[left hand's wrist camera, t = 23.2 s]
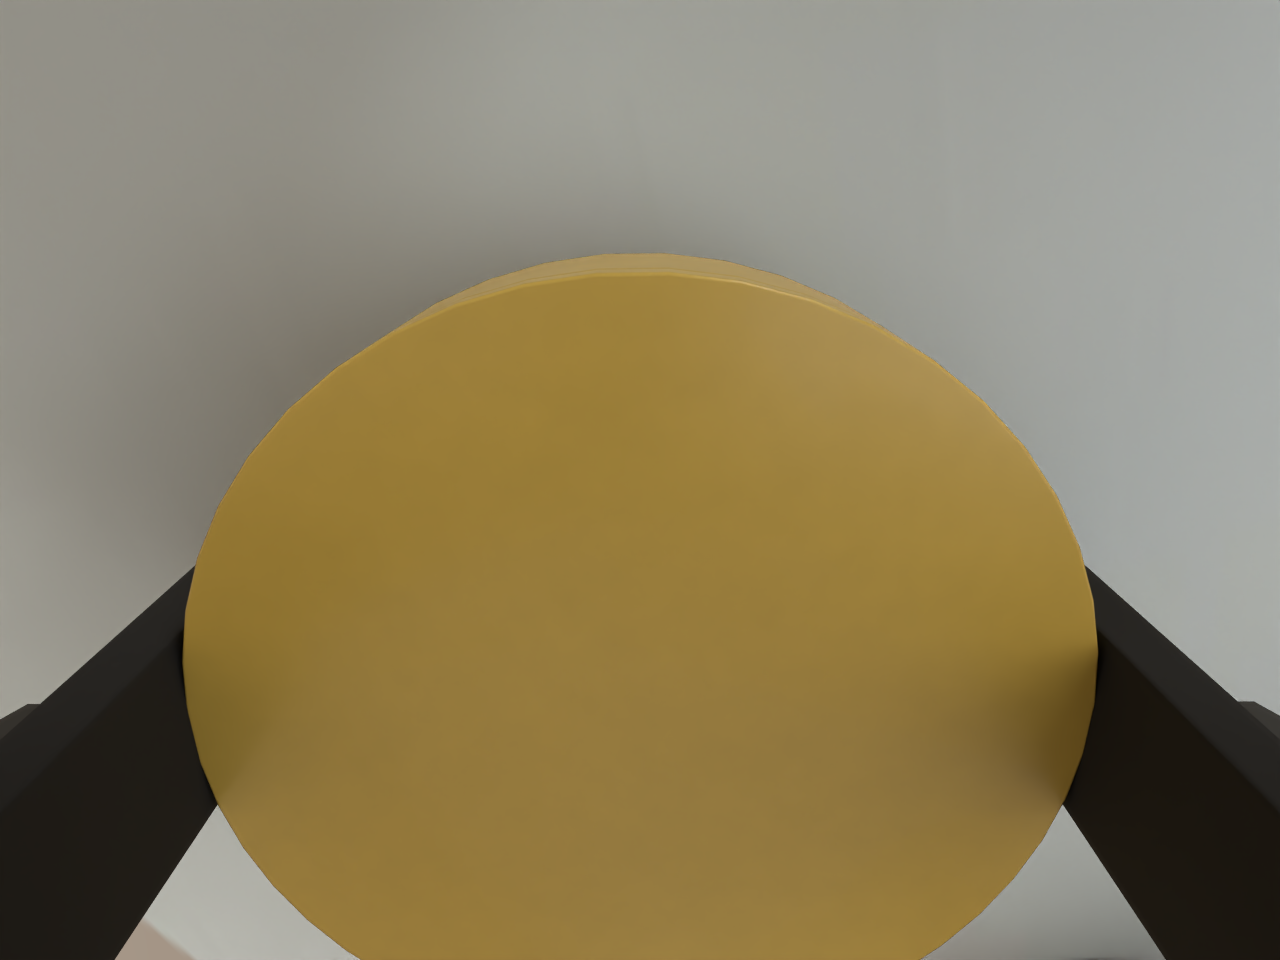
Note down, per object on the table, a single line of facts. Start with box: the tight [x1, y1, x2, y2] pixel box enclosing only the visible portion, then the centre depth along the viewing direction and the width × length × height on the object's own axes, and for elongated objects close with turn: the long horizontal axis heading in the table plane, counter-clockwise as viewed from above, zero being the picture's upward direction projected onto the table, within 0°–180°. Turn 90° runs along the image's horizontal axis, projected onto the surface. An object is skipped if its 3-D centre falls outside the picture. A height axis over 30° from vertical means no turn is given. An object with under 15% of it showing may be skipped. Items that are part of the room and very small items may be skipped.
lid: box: [182, 253, 1098, 960], centre depth 12 cm, size 12×12×2 cm
